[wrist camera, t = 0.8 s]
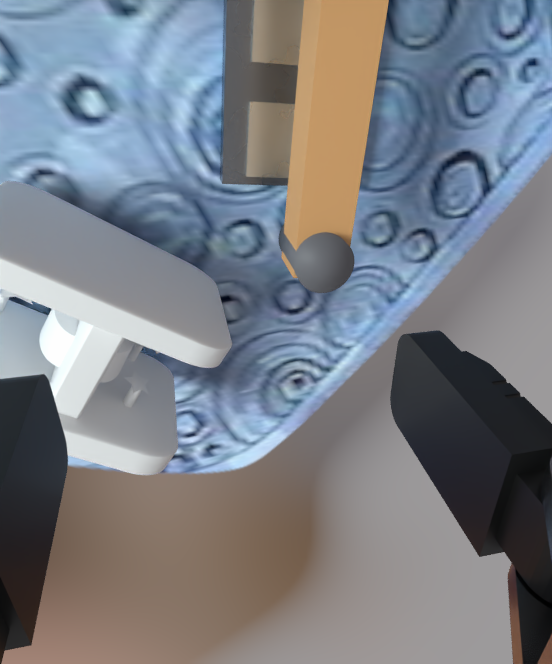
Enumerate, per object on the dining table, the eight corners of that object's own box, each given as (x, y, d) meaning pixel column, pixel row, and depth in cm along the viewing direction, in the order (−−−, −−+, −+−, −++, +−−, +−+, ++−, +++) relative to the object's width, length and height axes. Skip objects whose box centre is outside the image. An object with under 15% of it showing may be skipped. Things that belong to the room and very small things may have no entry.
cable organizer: (226, 275, 37) (252, 361, 27) (160, 382, 40) (162, 493, 31) (14, 168, 31) (-52, 230, 21) (-43, 306, 34) (-123, 415, 24)
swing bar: (304, -68, 23) (333, -88, 19) (369, -58, 24) (409, -77, 20) (276, 262, 31) (293, 293, 27) (326, 262, 31) (349, 292, 28)
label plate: (225, -45, 27) (228, -49, 26) (378, -25, 29) (388, -28, 28) (220, 179, 33) (222, 184, 32) (348, 182, 35) (355, 188, 34)
